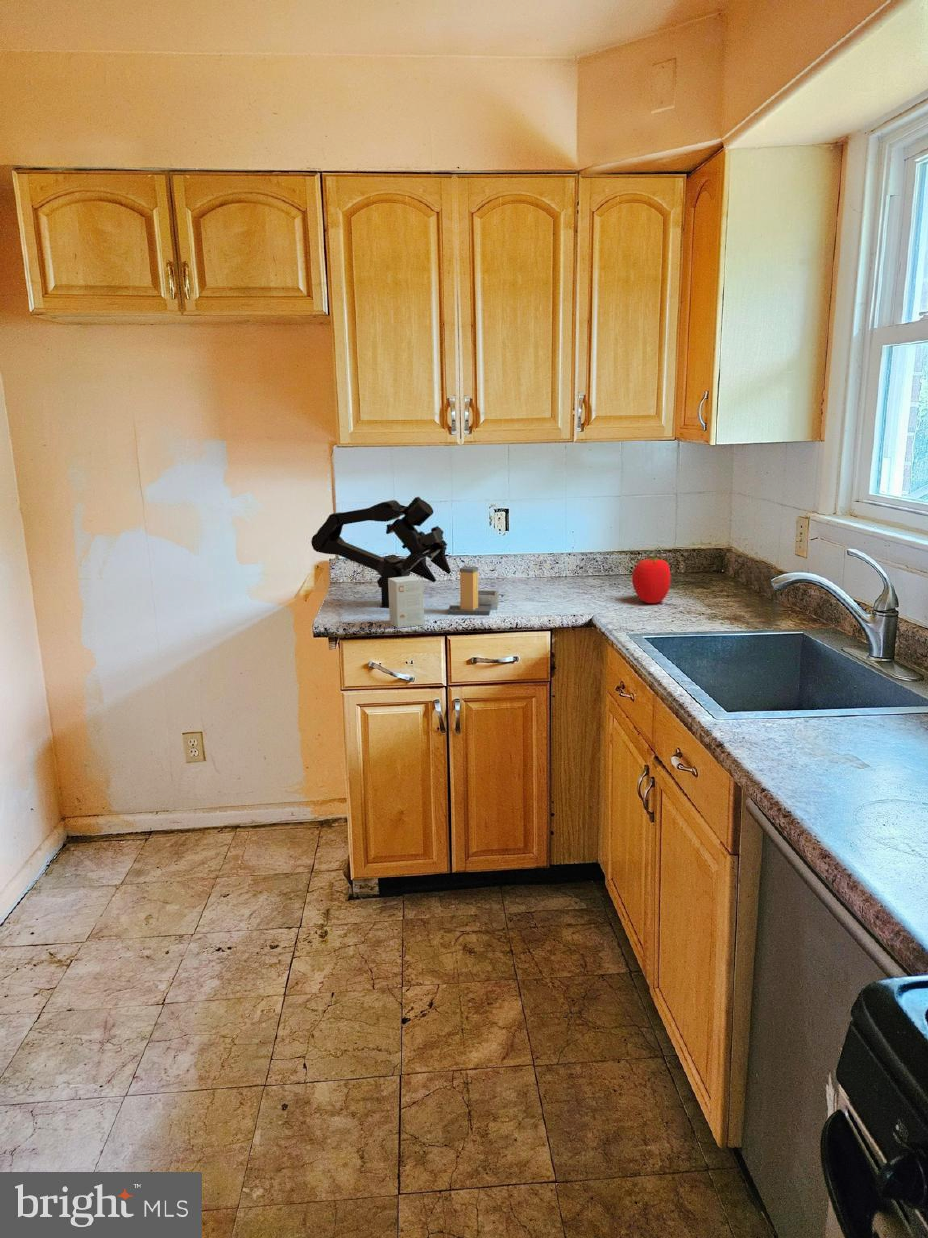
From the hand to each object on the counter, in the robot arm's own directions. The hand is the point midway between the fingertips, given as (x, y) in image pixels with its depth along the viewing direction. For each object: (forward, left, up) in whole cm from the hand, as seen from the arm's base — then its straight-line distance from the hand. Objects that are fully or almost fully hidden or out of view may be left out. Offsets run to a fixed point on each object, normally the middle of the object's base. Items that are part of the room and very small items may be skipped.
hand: (442, 577), depth 245 cm
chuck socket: (+12, +6, -10) cm, 17 cm away
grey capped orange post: (+8, -2, -9) cm, 12 cm away
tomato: (+62, +15, -10) cm, 65 cm away
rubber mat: (+8, -2, -10) cm, 13 cm away
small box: (-8, -17, -10) cm, 22 cm away
